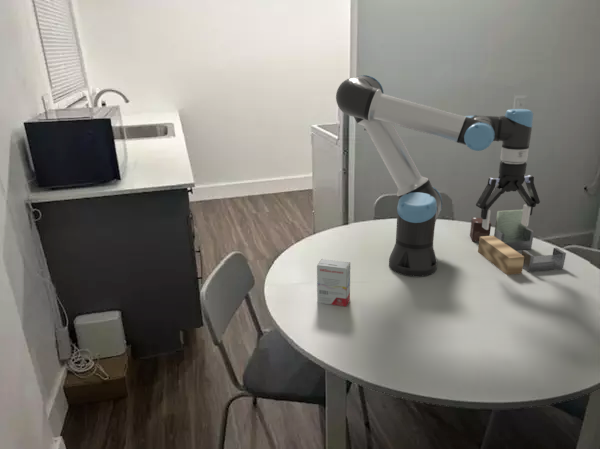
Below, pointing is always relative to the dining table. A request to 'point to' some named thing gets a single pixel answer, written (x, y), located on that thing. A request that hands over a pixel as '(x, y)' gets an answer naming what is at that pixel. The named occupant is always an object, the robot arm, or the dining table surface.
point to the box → (478, 229)
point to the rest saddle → (543, 261)
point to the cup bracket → (513, 230)
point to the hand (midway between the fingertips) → (504, 226)
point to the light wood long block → (501, 255)
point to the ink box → (333, 282)
